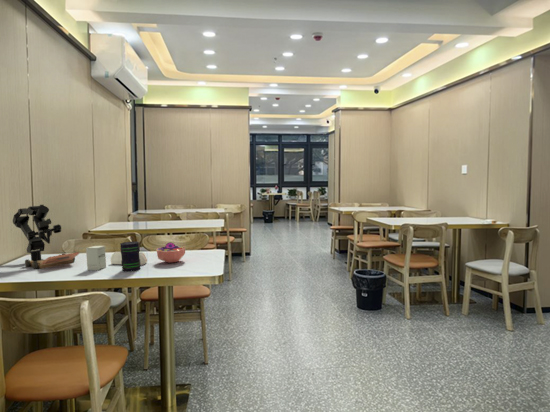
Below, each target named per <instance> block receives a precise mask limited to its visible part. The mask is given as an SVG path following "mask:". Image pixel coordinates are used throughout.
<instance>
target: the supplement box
mask: <svg viewBox="0 0 550 412" xmlns="http://www.w3.org/2000/svg"><path fill="white" fill-rule="evenodd" d="M85 251H86V265H87V266H86V268H87V271H100V270H103V269H106V268H107V260H106V257H107V256H106V246H105V245H93V246H89V247H86V248H85Z"/></svg>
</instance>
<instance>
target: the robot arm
mask: <svg viewBox="0 0 550 412" xmlns="http://www.w3.org/2000/svg"><path fill="white" fill-rule="evenodd" d="M48 213H50V209H49V207H48V206H46V205H44V204H39V205H33V206H32V205H30V206H28V207H27V208H26V207H25V208H19V209H18V210H17V212H16V213H15V214H14V215H13V218H12V223H13V225H14V226H15V227H16V228H19V229H20V230H21V231H22V233H23V235H24V236H25V238H26V240H28V245H27V248H26V253H29V254H30V260H31V261H40V260H44V258H42V252H45V246H46V244H45V242H46V243H47V244H49V245H50V243H51V236H52V235H53V233H54V234H59V233H61V232H62V225H61V224H59V223H58V224H54V225H52V219H51V218H47V216H48ZM30 216H32V222H34V223H35V227H36V229H37V231H36V232H35V230H32V229H31V226H30V225H29V220H30ZM46 218H47V219H46ZM49 225H52V227H51V228H50V226H49ZM44 241H45V242H44Z"/></svg>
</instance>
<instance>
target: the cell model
mask: <svg viewBox="0 0 550 412" xmlns="http://www.w3.org/2000/svg"><path fill="white" fill-rule="evenodd" d="M155 251H156V257H157V259H158V260H160V261H162V262H166V263H168V264H169V263H177V262H179V261H180V260H182V258H183V257H184V256H185V254H186V247H185V246H182V245H176V244H175V243H174V242H168V243H165V246H161V247H157V248H156V249H155Z"/></svg>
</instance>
